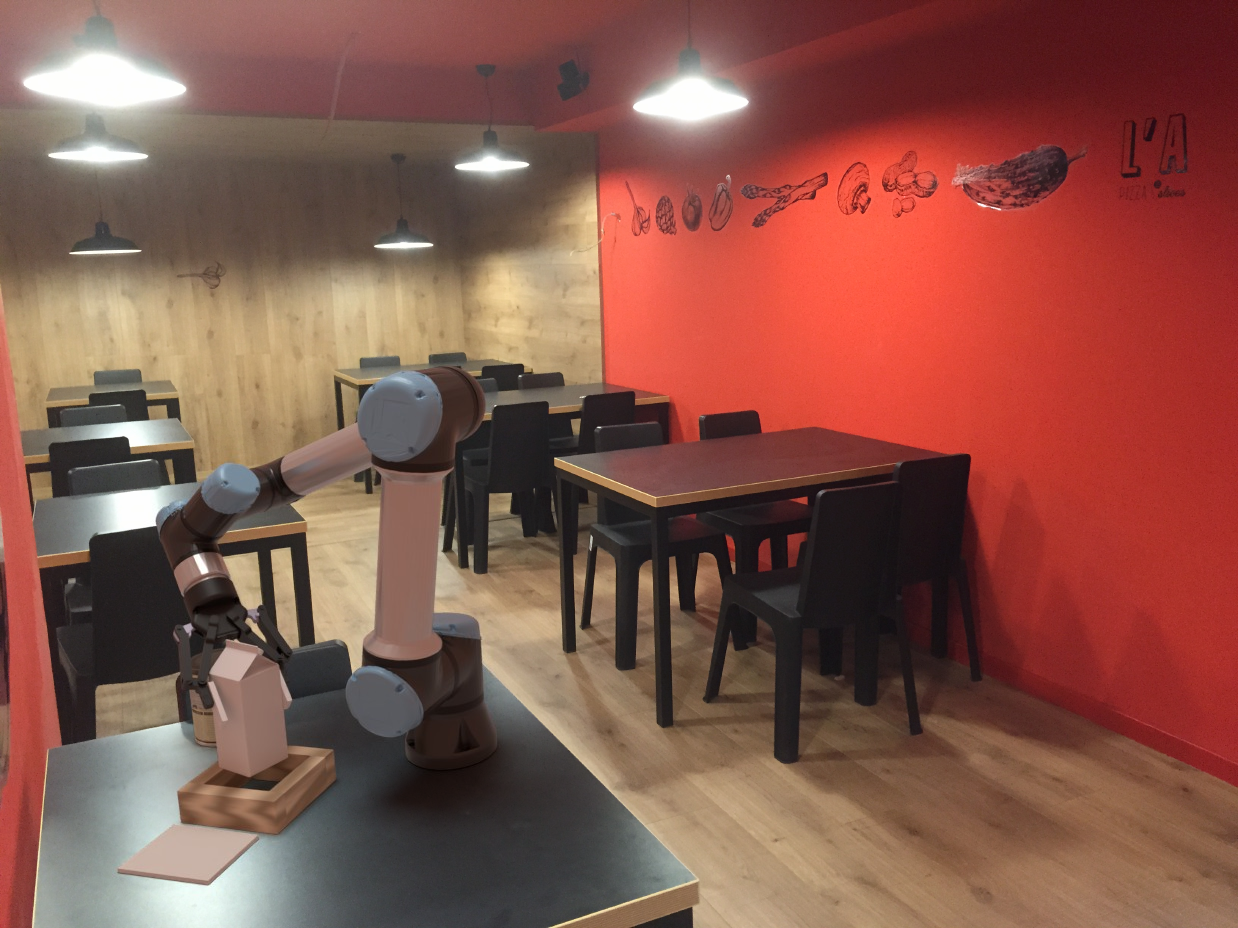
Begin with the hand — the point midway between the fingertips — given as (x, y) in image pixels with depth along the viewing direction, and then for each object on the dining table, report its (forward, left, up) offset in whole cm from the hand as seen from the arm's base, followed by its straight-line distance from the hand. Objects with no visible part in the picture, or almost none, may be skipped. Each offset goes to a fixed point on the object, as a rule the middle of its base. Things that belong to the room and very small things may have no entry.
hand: (256, 714), depth 142 cm
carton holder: (+2, -2, -15) cm, 15 cm away
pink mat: (+3, +13, -15) cm, 20 cm away
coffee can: (+22, -21, -15) cm, 34 cm away
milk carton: (+2, -2, -9) cm, 9 cm away
